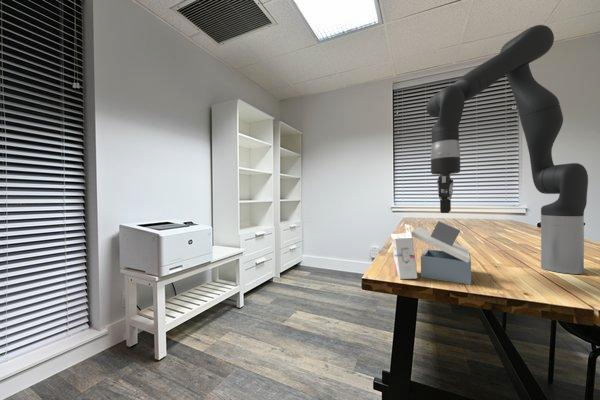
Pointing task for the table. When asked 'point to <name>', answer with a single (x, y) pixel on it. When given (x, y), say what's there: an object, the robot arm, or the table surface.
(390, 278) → the table surface
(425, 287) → the table surface
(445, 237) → the lid
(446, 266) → the gray open box
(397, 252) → the ink cartridge box
